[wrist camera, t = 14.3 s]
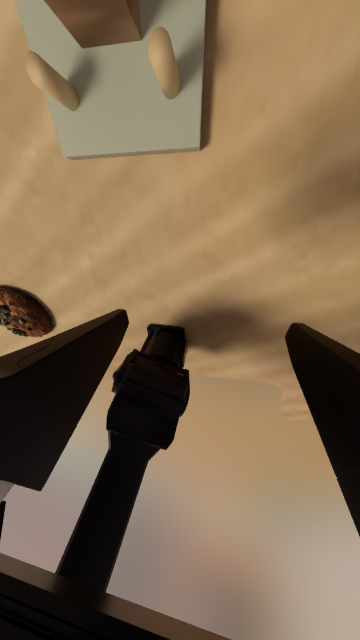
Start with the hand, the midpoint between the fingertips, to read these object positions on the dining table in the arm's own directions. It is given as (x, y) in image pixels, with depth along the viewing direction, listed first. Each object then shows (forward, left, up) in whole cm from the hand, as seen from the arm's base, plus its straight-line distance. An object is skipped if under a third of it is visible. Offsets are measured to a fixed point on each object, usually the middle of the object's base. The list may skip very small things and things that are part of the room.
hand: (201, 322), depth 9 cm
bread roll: (-34, -11, -14) cm, 38 cm away
